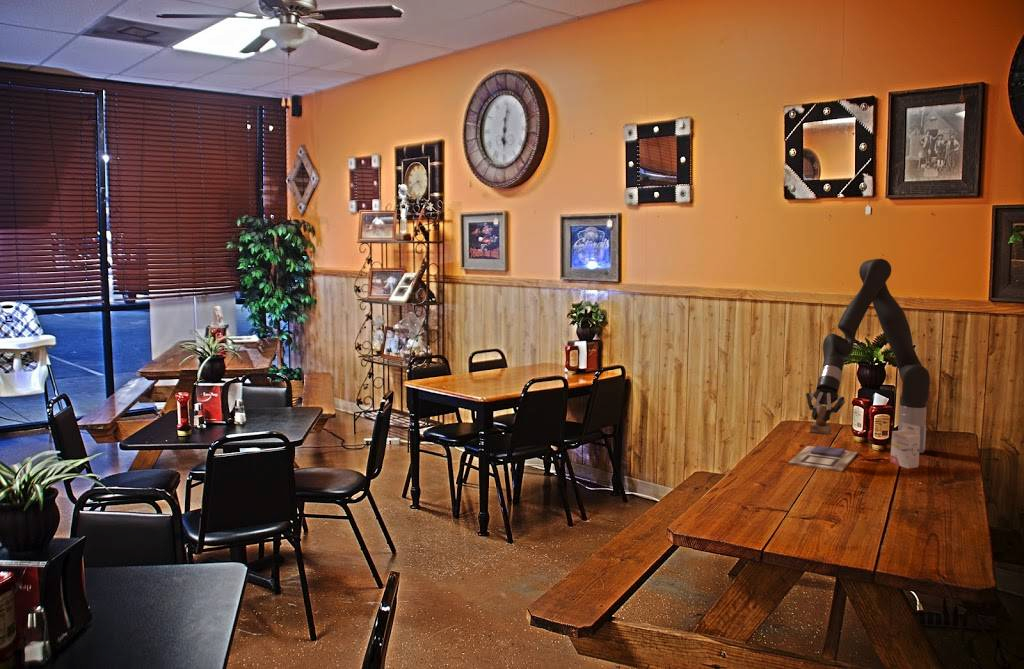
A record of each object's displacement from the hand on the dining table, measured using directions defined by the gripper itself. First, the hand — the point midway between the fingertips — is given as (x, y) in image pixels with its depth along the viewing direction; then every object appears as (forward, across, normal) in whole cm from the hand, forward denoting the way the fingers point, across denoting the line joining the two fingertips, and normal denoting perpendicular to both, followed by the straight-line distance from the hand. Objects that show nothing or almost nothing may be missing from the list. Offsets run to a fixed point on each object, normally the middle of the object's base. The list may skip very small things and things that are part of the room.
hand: (820, 419), depth 298 cm
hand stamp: (+2, 0, +5) cm, 5 cm away
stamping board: (+6, 0, +17) cm, 18 cm away
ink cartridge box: (+1, +26, +22) cm, 34 cm away
